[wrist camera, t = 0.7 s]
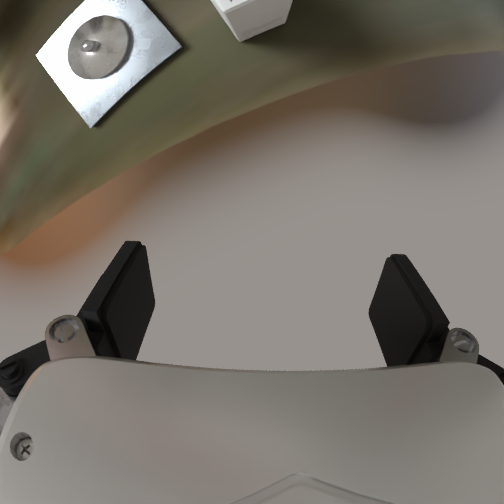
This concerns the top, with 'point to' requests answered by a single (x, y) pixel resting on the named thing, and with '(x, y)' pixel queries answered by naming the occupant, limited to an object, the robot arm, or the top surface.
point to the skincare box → (252, 15)
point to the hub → (106, 53)
